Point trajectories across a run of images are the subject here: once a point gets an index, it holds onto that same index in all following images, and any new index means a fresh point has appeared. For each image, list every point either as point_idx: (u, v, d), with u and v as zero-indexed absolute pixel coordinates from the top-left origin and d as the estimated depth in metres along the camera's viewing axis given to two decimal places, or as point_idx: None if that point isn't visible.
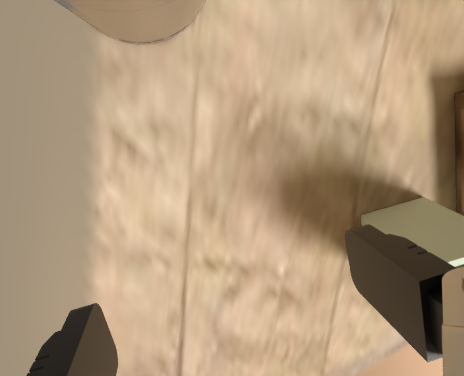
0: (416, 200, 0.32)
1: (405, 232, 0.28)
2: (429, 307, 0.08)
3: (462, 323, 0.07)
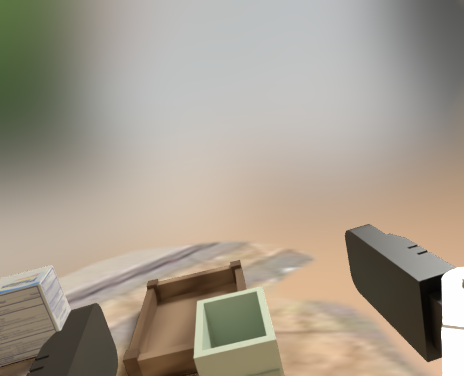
0: None
1: None
2: (429, 307, 0.08)
3: (462, 323, 0.07)
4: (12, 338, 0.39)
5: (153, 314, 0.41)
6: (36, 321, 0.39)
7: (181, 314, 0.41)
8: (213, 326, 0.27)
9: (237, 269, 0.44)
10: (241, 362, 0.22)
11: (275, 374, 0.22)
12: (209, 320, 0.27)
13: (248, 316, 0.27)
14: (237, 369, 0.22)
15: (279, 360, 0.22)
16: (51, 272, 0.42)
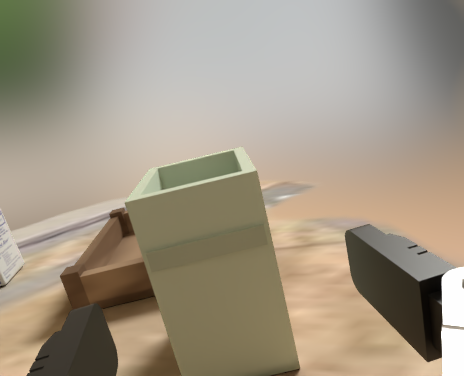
0: None
1: None
2: (429, 307, 0.08)
3: (462, 323, 0.07)
4: None
5: (114, 242, 0.33)
6: None
7: None
8: None
9: None
10: (202, 211, 0.14)
11: (256, 232, 0.14)
12: None
13: None
14: (196, 223, 0.14)
15: (262, 209, 0.14)
16: None
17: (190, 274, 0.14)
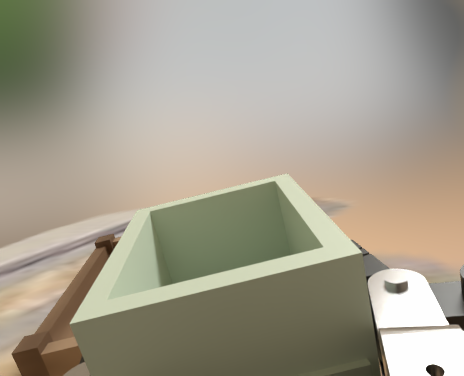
0: None
1: None
2: None
3: (393, 324, 0.07)
4: None
5: None
6: None
7: None
8: (176, 268, 0.12)
9: None
10: (240, 338, 0.06)
11: None
12: (166, 254, 0.12)
13: (256, 244, 0.12)
14: (226, 362, 0.06)
15: (369, 330, 0.06)
16: None
17: None
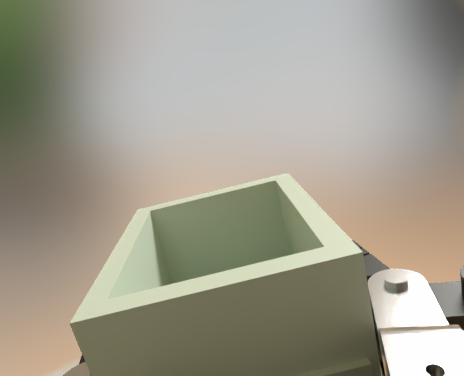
0: None
1: None
2: None
3: (393, 324, 0.07)
4: None
5: None
6: None
7: None
8: (176, 268, 0.12)
9: None
10: (240, 337, 0.06)
11: None
12: (166, 253, 0.12)
13: (256, 243, 0.12)
14: (227, 362, 0.06)
15: (369, 329, 0.06)
16: None
17: None
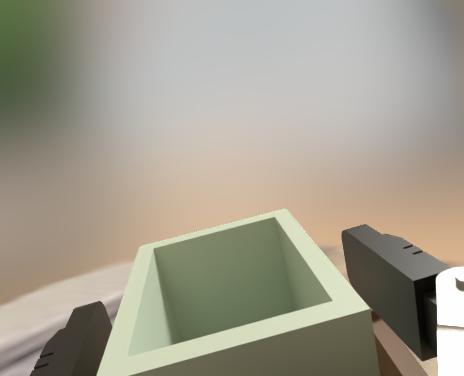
0: None
1: None
2: (423, 306, 0.08)
3: (456, 323, 0.07)
4: None
5: None
6: None
7: None
8: (178, 302, 0.12)
9: (374, 323, 0.16)
10: None
11: None
12: (168, 289, 0.12)
13: (256, 277, 0.12)
14: None
15: None
16: None
17: None
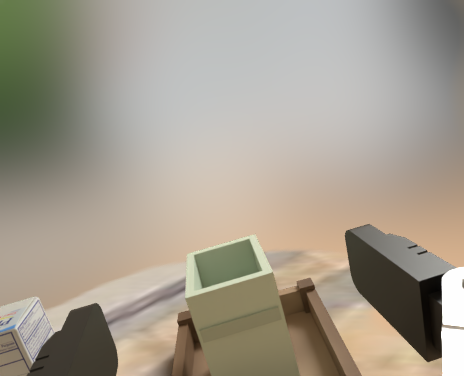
0: None
1: None
2: (429, 307, 0.08)
3: (462, 323, 0.07)
4: None
5: (190, 366, 0.27)
6: None
7: None
8: (205, 280, 0.26)
9: (310, 292, 0.30)
10: (237, 300, 0.20)
11: (274, 312, 0.21)
12: (201, 273, 0.26)
13: (242, 267, 0.26)
14: (233, 308, 0.20)
15: (277, 296, 0.21)
16: (36, 307, 0.28)
17: (229, 342, 0.21)
